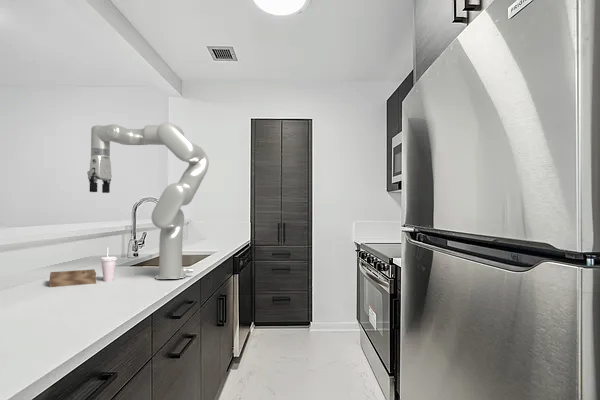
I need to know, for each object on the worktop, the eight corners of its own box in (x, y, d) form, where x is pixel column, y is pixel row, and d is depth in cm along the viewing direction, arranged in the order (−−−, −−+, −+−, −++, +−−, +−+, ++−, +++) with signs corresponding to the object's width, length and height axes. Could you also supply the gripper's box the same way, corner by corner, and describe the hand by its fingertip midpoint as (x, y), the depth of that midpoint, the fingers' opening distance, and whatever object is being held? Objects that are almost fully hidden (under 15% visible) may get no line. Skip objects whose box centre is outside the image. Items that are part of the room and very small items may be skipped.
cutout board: (93, 278, 175) (94, 269, 175) (95, 283, 165) (96, 273, 165) (50, 281, 167) (50, 272, 167) (49, 287, 156) (49, 276, 157)
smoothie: (97, 280, 170) (97, 247, 170) (112, 278, 175) (112, 246, 175) (104, 282, 166) (105, 248, 166) (119, 280, 171) (120, 247, 171)
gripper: (97, 151, 172) (96, 191, 171) (118, 156, 189) (118, 193, 189) (80, 151, 172) (79, 191, 172) (103, 156, 189) (102, 193, 189)
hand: (99, 192), depth 180 cm, fingers open, 9 cm apart
